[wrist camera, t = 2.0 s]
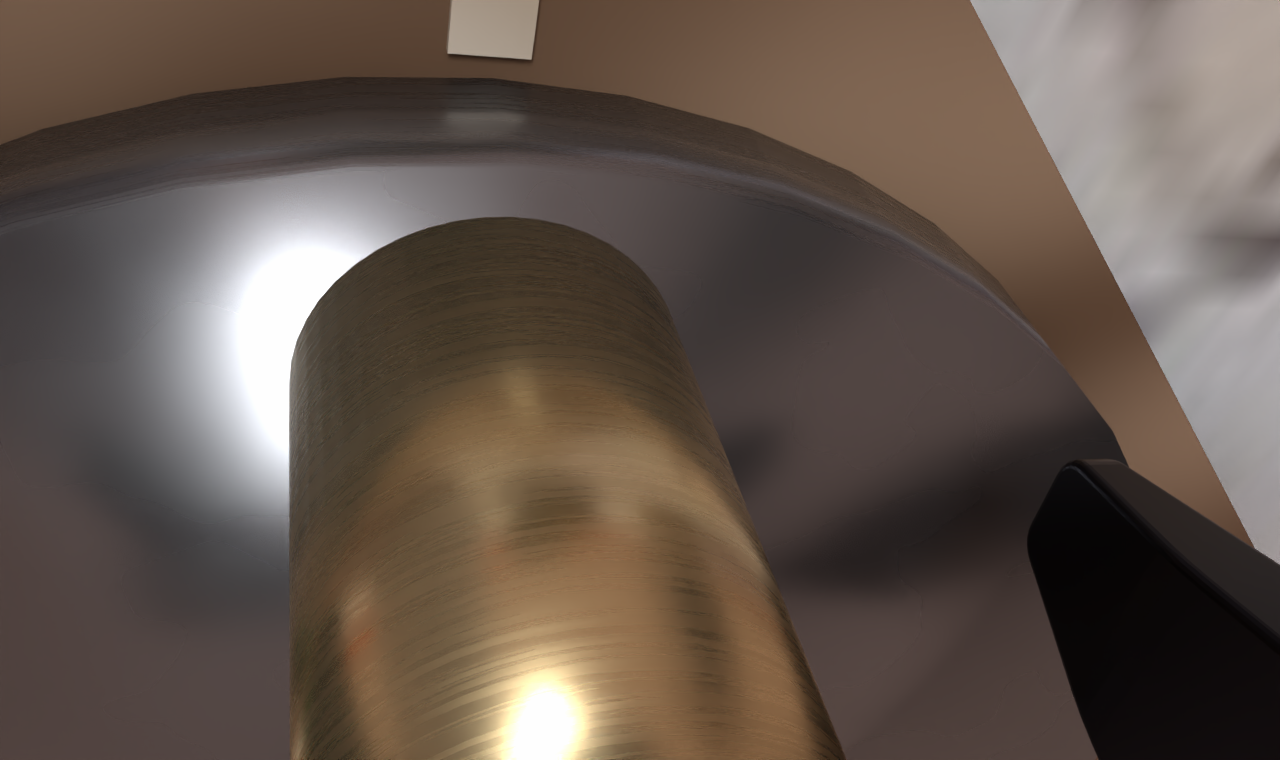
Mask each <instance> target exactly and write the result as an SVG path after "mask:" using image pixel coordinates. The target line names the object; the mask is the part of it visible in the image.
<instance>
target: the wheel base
mask: <svg viewBox="0 0 1280 760" xmlns="http://www.w3.org/2000/svg"><path fill="white" fill-rule="evenodd" d="M338 77H433V78H496V79H503V80H511V81H518V82H526V83H534V84H541V85H549V86H557V87H564V88H572V89H579V90H587V91H595V92H602V93H610V94H617V95H625V96H630V97H634V98H638V99H642V100H645V101H649V102H653V103H657V104H660V105H664V106H668V107H672V108H675V109H679V110H683V111H687V112H690V113H694V114H698V115H702V116H705V117H709V118H713V119H717V120H720V121H724V122H728V123H732V124H735V125H739V126H743V127H747V128H750V129H752V130H754V131H757V132H759V133H762V134H764V135H766V136H769V137H771V138H773V139H776V140H778V141H780V142H783V143H785V144H788V145H790V146H792V147H795V148H797V149H799V150H802V151H804V152H806V153H809V154H811V155H814V156H816V157H818V158H821V159H823V160H825V161H828V162H830V163H832V164H835V165H837V166H839V167H842V168H844V169H847V170H849V171H851V172H853V173H854V174H856V175H858V176H859V177H861V178H862V179H864V180H866V181H867V182H869V183H870V184H872V185H874V186H875V187H877V188H879V189H880V190H882V191H883V192H885V193H887V194H888V195H890V196H891V197H893V198H895V199H896V200H898V201H899V202H901V203H903V204H904V205H906V206H907V207H909V208H911V209H912V210H914V211H916V212H917V213H919V214H920V215H922V216H924V217H925V218H927V219H928V220H930V221H932V222H933V223H935V224H936V225H937V226H938V227H939V228H940V229H941V230H942V231H944V232H945V233H946V234H947V235H948V236H949V237H950V238H951V239H952V240H954V241H955V242H956V243H957V244H958V245H959V246H960V247H961V248H963V249H964V250H965V251H966V252H967V253H968V254H969V255H970V256H972V257H973V258H974V259H975V260H976V261H977V262H978V263H979V264H980V265H982V266H983V267H984V268H985V269H986V270H987V271H988V272H989V273H991V274H992V275H993V276H994V277H995V278H996V279H997V280H998V281H999V282H1000V283H1001V285H1002V286H1003V287H1004V289H1005V290H1006V291H1007V293H1008V294H1009V295H1010V297H1011V298H1012V299H1013V300H1014V302H1015V303H1016V304H1017V306H1018V307H1019V308H1020V310H1021V311H1022V312H1023V314H1024V315H1025V316H1026V318H1027V319H1028V320H1029V321H1030V323H1031V324H1032V325H1033V327H1034V328H1035V329H1036V331H1037V332H1038V333H1039V335H1040V336H1041V337H1042V339H1043V340H1044V341H1045V342H1046V344H1047V345H1048V346H1049V348H1050V349H1051V350H1052V352H1053V353H1054V354H1055V356H1056V357H1057V358H1058V360H1059V361H1060V362H1061V364H1062V365H1063V366H1064V367H1065V369H1066V370H1067V371H1068V373H1069V374H1070V375H1071V377H1072V378H1073V379H1074V381H1075V382H1076V383H1077V385H1078V386H1079V387H1080V389H1081V390H1082V391H1083V392H1084V394H1085V395H1086V396H1087V398H1088V399H1089V400H1090V402H1091V403H1092V404H1093V406H1094V407H1095V408H1096V410H1097V411H1098V412H1099V414H1100V415H1101V416H1102V417H1103V419H1104V420H1105V421H1106V423H1107V424H1108V425H1109V427H1110V428H1111V429H1112V431H1113V433H1114V435H1115V437H1116V439H1117V441H1118V444H1119V446H1120V448H1121V450H1122V452H1123V455H1124V457H1125V459H1126V461H1127V463H1128V465H1129V468H1131V469H1132V470H1134V471H1135V472H1137V473H1138V474H1140V475H1141V476H1143V477H1145V478H1146V479H1148V480H1149V481H1151V482H1152V483H1154V484H1155V485H1157V486H1158V487H1160V488H1162V489H1163V490H1165V491H1166V492H1168V493H1169V494H1171V495H1172V496H1174V497H1176V498H1177V499H1179V500H1180V501H1182V502H1183V503H1185V504H1186V505H1188V506H1189V507H1191V508H1193V509H1194V510H1196V511H1197V512H1199V513H1200V514H1202V515H1203V516H1205V517H1207V518H1208V519H1210V520H1211V521H1213V522H1214V523H1216V524H1217V525H1219V526H1220V527H1222V528H1224V529H1225V530H1227V531H1228V532H1230V533H1231V534H1233V535H1234V536H1236V537H1237V538H1239V539H1241V540H1242V541H1244V542H1245V543H1247V544H1248V545H1250V546H1251V547H1253V548H1254V546H1253V544H1252V542H1251V540H1250V538H1249V537H1248V535H1247V533H1246V531H1245V529H1244V527H1243V525H1242V523H1241V521H1240V519H1239V517H1238V515H1237V513H1236V512H1235V510H1234V508H1233V506H1232V504H1231V502H1230V500H1229V498H1228V496H1227V494H1226V492H1225V490H1224V488H1223V487H1222V485H1221V483H1220V481H1219V479H1218V477H1217V475H1216V473H1215V471H1214V469H1213V467H1212V465H1211V463H1210V462H1209V460H1208V458H1207V456H1206V454H1205V452H1204V450H1203V448H1202V446H1201V444H1200V442H1199V440H1198V438H1197V437H1196V435H1195V433H1194V431H1193V429H1192V427H1191V425H1190V423H1189V421H1188V419H1187V417H1186V415H1185V413H1184V412H1183V410H1182V408H1181V406H1180V404H1179V402H1178V400H1177V398H1176V396H1175V394H1174V392H1173V390H1172V388H1171V386H1170V385H1169V383H1168V381H1167V379H1166V377H1165V375H1164V373H1163V371H1162V369H1161V367H1160V365H1159V363H1158V361H1157V360H1156V358H1155V356H1154V354H1153V352H1152V350H1151V348H1150V346H1149V344H1148V342H1147V340H1146V338H1145V336H1144V335H1143V333H1142V331H1141V329H1140V327H1139V325H1138V323H1137V321H1136V319H1135V317H1134V315H1133V313H1132V311H1131V310H1130V308H1129V306H1128V304H1127V302H1126V300H1125V298H1124V296H1123V294H1122V292H1121V290H1120V288H1119V286H1118V285H1117V283H1116V281H1115V279H1114V277H1113V275H1112V273H1111V271H1110V269H1109V267H1108V265H1107V263H1106V261H1105V260H1104V258H1103V256H1102V254H1101V252H1100V250H1099V248H1098V246H1097V244H1096V242H1095V240H1094V238H1093V236H1092V235H1091V233H1090V231H1089V229H1088V227H1087V225H1086V223H1085V221H1084V219H1083V217H1082V215H1081V213H1080V211H1079V209H1078V208H1077V206H1076V204H1075V202H1074V200H1073V198H1072V196H1071V194H1070V192H1069V190H1068V188H1067V186H1066V184H1065V183H1064V181H1063V179H1062V177H1061V175H1060V173H1059V171H1058V169H1057V167H1056V165H1055V163H1054V161H1053V159H1052V158H1051V156H1050V154H1049V152H1048V150H1047V148H1046V146H1045V144H1044V142H1043V140H1042V138H1041V136H1040V134H1039V133H1038V131H1037V129H1036V127H1035V125H1034V123H1033V121H1032V119H1031V117H1030V115H1029V113H1028V111H1027V109H1026V108H1025V106H1024V104H1023V102H1022V100H1021V98H1020V96H1019V94H1018V92H1017V90H1016V88H1015V86H1014V84H1013V83H1012V81H1011V79H1010V77H1009V75H1008V73H1007V71H1006V69H1005V67H1004V65H1003V63H1002V61H1001V59H1000V58H999V56H998V54H997V52H996V50H995V48H994V46H993V44H992V42H991V40H990V38H989V36H988V34H987V33H986V31H985V29H984V27H983V25H982V23H981V21H980V19H979V17H978V15H977V13H976V11H975V9H974V7H973V6H972V4H971V2H970V0H0V144H3V143H6V142H8V141H11V140H14V139H17V138H19V137H22V136H25V135H27V134H30V133H33V132H35V131H38V130H41V129H44V128H48V127H53V126H57V125H61V124H65V123H70V122H74V121H78V120H82V119H87V118H91V117H95V116H99V115H104V114H108V113H112V112H116V111H121V110H125V109H129V108H133V107H138V106H142V105H146V104H150V103H155V102H159V101H163V100H167V99H172V98H176V97H180V96H184V95H189V94H194V93H203V92H212V91H221V90H230V89H239V88H248V87H257V86H266V85H275V84H284V83H293V82H302V81H311V80H320V79H329V78H338ZM1095 760H1098V757H1096V759H1095Z"/></svg>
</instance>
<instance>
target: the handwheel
mask: <svg viewBox="0 0 1280 760" xmlns="http://www.w3.org/2000/svg"><path fill="white" fill-rule="evenodd" d="M1075 459H1112V460H1116V461H1119V462H1121V463H1123V464H1124V465H1126V466H1127V467H1129V465H1128V463H1127V461H1126V459H1125V457H1124V455H1123V452H1122V450H1121V448H1120V446H1119V444H1118V441H1117V439H1116V437H1115V435H1114V433H1113V431H1112V429H1111V428H1110V427H1109V425H1108V424H1107V423H1106V421H1105V420H1104V419H1103V417H1102V416H1101V415H1100V414H1099V412H1098V411H1097V410H1096V408H1095V407H1094V406H1093V404H1092V403H1091V402H1090V400H1089V399H1088V398H1087V396H1086V395H1085V394H1084V392H1083V391H1082V390H1081V389H1080V387H1079V386H1078V385H1077V383H1076V382H1075V381H1074V379H1073V378H1072V377H1071V375H1070V374H1069V373H1068V371H1067V370H1066V369H1065V367H1064V366H1063V365H1062V364H1061V362H1060V361H1059V360H1058V358H1057V357H1056V356H1055V354H1054V353H1053V352H1052V350H1051V349H1050V348H1049V346H1048V345H1047V344H1046V342H1045V341H1044V340H1043V339H1042V337H1041V336H1040V335H1039V333H1038V332H1037V331H1036V329H1035V328H1034V327H1033V325H1032V324H1031V323H1030V321H1029V320H1028V319H1027V318H1026V316H1025V315H1024V314H1023V312H1022V311H1021V310H1020V308H1019V307H1018V306H1017V304H1016V303H1015V302H1014V300H1013V299H1012V298H1011V297H1010V295H1009V294H1008V293H1007V291H1006V290H1005V289H1004V287H1003V286H1002V285H1001V283H1000V282H999V281H998V280H997V279H996V278H995V277H994V276H993V275H992V274H991V273H989V272H988V271H987V270H986V269H985V268H984V267H983V266H982V265H980V264H979V263H978V262H977V261H976V260H975V259H974V258H973V257H972V256H970V255H969V254H968V253H967V252H966V251H965V250H964V249H963V248H961V247H960V246H959V245H958V244H957V243H956V242H955V241H954V240H952V239H951V238H950V237H949V236H948V235H947V234H946V233H945V232H944V231H942V230H941V229H940V228H939V227H938V226H937V225H936V224H935V223H933V222H932V221H930V220H928V219H927V218H925V217H924V216H922V215H920V214H919V213H917V212H916V211H914V210H912V209H911V208H909V207H907V206H906V205H904V204H903V203H901V202H899V201H898V200H896V199H895V198H893V197H891V196H890V195H888V194H887V193H885V192H883V191H882V190H880V189H879V188H877V187H875V186H874V185H872V184H870V183H869V182H867V181H866V180H864V179H862V178H861V177H859V176H858V175H856V174H854V173H853V172H851V171H849V170H847V169H844V168H842V167H839V166H837V165H835V164H832V163H830V162H828V161H825V160H823V159H821V158H818V157H816V156H814V155H811V154H809V153H806V152H804V151H802V150H799V149H797V148H795V147H792V146H790V145H788V144H785V143H783V142H780V141H778V140H776V139H773V138H771V137H769V136H766V135H764V134H762V133H759V132H757V131H754V130H752V129H750V128H747V127H743V126H739V125H735V124H732V123H728V122H724V121H720V120H717V119H713V118H709V117H705V116H702V115H698V114H694V113H690V112H687V111H683V110H679V109H675V108H672V107H668V106H664V105H660V104H657V103H653V102H649V101H645V100H642V99H638V98H634V97H630V96H625V95H617V94H610V93H602V92H595V91H587V90H579V89H572V88H564V87H557V86H549V85H541V84H534V83H526V82H518V81H511V80H503V79H496V78H433V77H338V78H329V79H320V80H311V81H302V82H293V83H284V84H275V85H266V86H257V87H248V88H239V89H230V90H221V91H212V92H203V93H194V94H189V95H184V96H180V97H176V98H172V99H167V100H163V101H159V102H155V103H150V104H146V105H142V106H138V107H133V108H129V109H125V110H121V111H116V112H112V113H108V114H104V115H99V116H95V117H91V118H87V119H82V120H78V121H74V122H70V123H65V124H61V125H57V126H53V127H48V128H44V129H41V130H38V131H35V132H33V133H30V134H27V135H25V136H22V137H19V138H17V139H14V140H11V141H8V142H6V143H3V144H0V760H1095V759H1096V757H1097V755H1096V753H1095V750H1094V748H1093V746H1092V744H1091V741H1090V739H1089V736H1088V734H1087V731H1086V729H1085V726H1084V724H1083V721H1082V719H1081V717H1080V714H1079V711H1078V708H1077V705H1076V702H1075V699H1074V697H1073V694H1072V691H1071V688H1070V685H1069V682H1068V679H1067V675H1066V672H1065V669H1064V666H1063V663H1062V660H1061V657H1060V654H1059V651H1058V647H1057V644H1056V641H1055V638H1054V635H1053V632H1052V629H1051V626H1050V623H1049V619H1048V616H1047V613H1046V610H1045V607H1044V604H1043V601H1042V598H1041V595H1040V591H1039V588H1038V585H1037V582H1036V579H1035V576H1034V573H1033V570H1032V566H1031V563H1030V560H1029V556H1028V550H1027V535H1028V530H1029V527H1030V524H1031V522H1032V520H1033V518H1034V517H1035V515H1036V513H1037V511H1038V509H1039V507H1040V505H1041V503H1042V501H1043V499H1044V497H1045V496H1046V494H1047V492H1048V490H1049V488H1050V486H1051V484H1052V482H1053V480H1054V478H1055V476H1056V474H1057V473H1058V471H1059V470H1060V468H1061V467H1062V466H1063V465H1065V464H1066V463H1067V462H1068V461H1071V460H1075Z"/></svg>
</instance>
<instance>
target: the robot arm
mask: <svg viewBox="0 0 1280 760" xmlns="http://www.w3.org/2000/svg"><path fill="white" fill-rule="evenodd" d="M1027 550H1028V556H1029V560H1030V563H1031V566H1032V570H1033V573H1034V576H1035V579H1036V582H1037V585H1038V588H1039V591H1040V595H1041V598H1042V601H1043V604H1044V607H1045V610H1046V613H1047V616H1048V619H1049V623H1050V626H1051V629H1052V632H1053V635H1054V638H1055V641H1056V644H1057V647H1058V651H1059V654H1060V657H1061V660H1062V663H1063V666H1064V669H1065V672H1066V675H1067V679H1068V682H1069V685H1070V688H1071V691H1072V694H1073V697H1074V699H1075V702H1076V705H1077V708H1078V711H1079V714H1080V717H1081V719H1082V721H1083V724H1084V726H1085V729H1086V731H1087V734H1088V736H1089V739H1090V741H1091V744H1092V746H1093V748H1094V750H1095V753H1096V755H1097V757H1098V760H1280V565H1279V564H1278V563H1276V562H1275V561H1273V560H1272V559H1270V558H1268V557H1267V556H1265V555H1264V554H1262V553H1261V552H1259V551H1258V550H1256V549H1255V548H1253V547H1251V546H1250V545H1248V544H1247V543H1245V542H1244V541H1242V540H1241V539H1239V538H1237V537H1236V536H1234V535H1233V534H1231V533H1230V532H1228V531H1227V530H1225V529H1224V528H1222V527H1220V526H1219V525H1217V524H1216V523H1214V522H1213V521H1211V520H1210V519H1208V518H1207V517H1205V516H1203V515H1202V514H1200V513H1199V512H1197V511H1196V510H1194V509H1193V508H1191V507H1189V506H1188V505H1186V504H1185V503H1183V502H1182V501H1180V500H1179V499H1177V498H1176V497H1174V496H1172V495H1171V494H1169V493H1168V492H1166V491H1165V490H1163V489H1162V488H1160V487H1158V486H1157V485H1155V484H1154V483H1152V482H1151V481H1149V480H1148V479H1146V478H1145V477H1143V476H1141V475H1140V474H1138V473H1137V472H1135V471H1134V470H1132V469H1131V468H1129V467H1127V466H1126V465H1124V464H1123V463H1121V462H1119V461H1116V460H1112V459H1075V460H1071V461H1068V462H1067V463H1066V464H1065V465H1063V466H1062V467H1061V468H1060V470H1059V471H1058V473H1057V474H1056V476H1055V478H1054V480H1053V482H1052V484H1051V486H1050V488H1049V490H1048V492H1047V494H1046V496H1045V497H1044V499H1043V501H1042V503H1041V505H1040V507H1039V509H1038V511H1037V513H1036V515H1035V517H1034V518H1033V520H1032V522H1031V524H1030V527H1029V530H1028V535H1027Z"/></svg>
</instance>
